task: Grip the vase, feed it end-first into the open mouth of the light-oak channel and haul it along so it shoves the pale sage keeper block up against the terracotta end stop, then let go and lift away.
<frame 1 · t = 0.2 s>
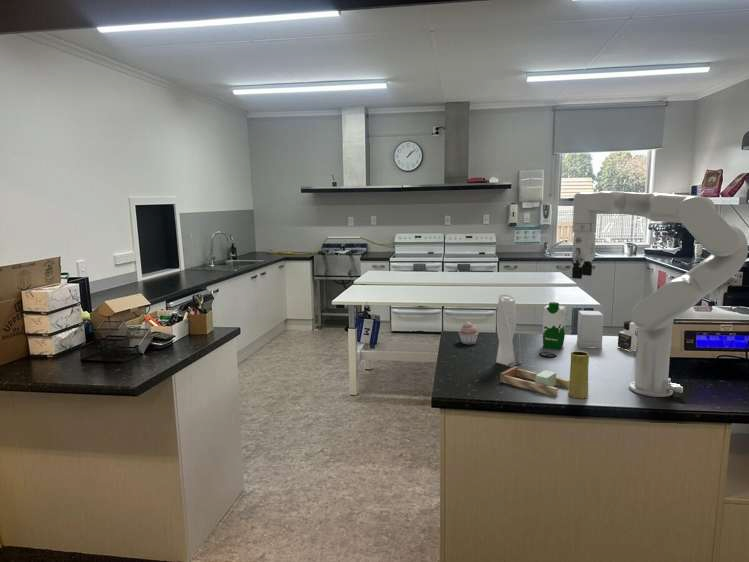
hand: (581, 276, 172), 36 cm above the counter, tool pointing down, fingers open, 9 cm apart
cupcake: (468, 343, 223), on the counter
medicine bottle: (630, 349, 208), on the counter
keeper: (545, 380, 165), point 3 cm above the counter, slide at 0.0 cm
supplement box: (589, 346, 215), on the counter
milk carton: (553, 347, 214), on the counter
vase: (578, 396, 158), on the counter
track: (534, 384, 168), on the counter
skyscraper: (506, 363, 192), on the counter
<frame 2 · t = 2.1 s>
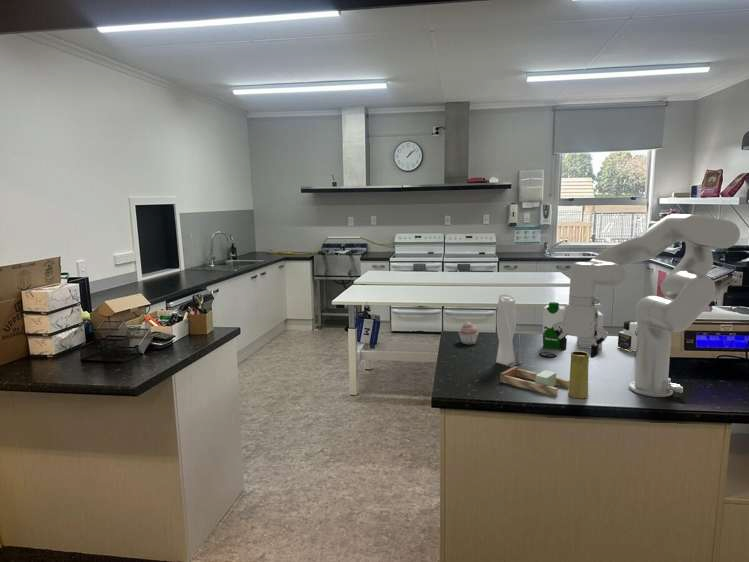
hand: (577, 353, 156), 14 cm above the counter, tool pointing down, fingers open, 9 cm apart
nothing on the counter moved.
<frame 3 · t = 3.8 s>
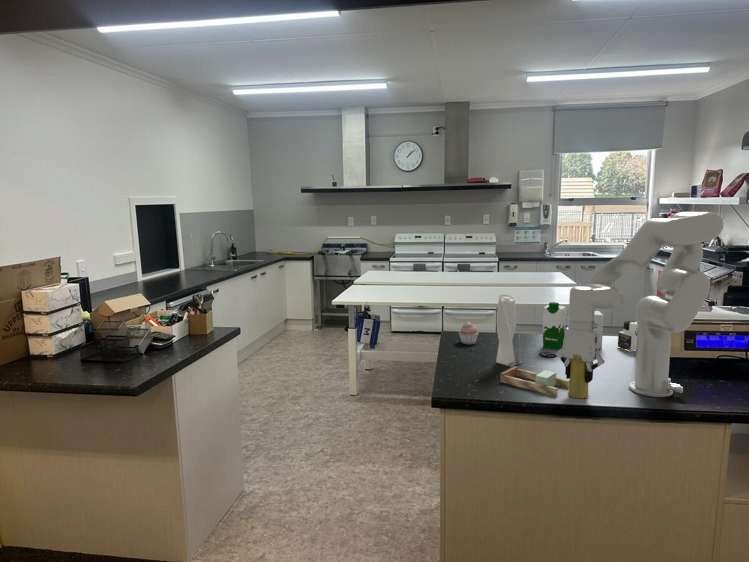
hand: (578, 379, 157), 6 cm above the counter, tool pointing down, fingers closed on vase, 5 cm apart
vase: (578, 396, 158), on the counter, touching gripper
everything else where it was.
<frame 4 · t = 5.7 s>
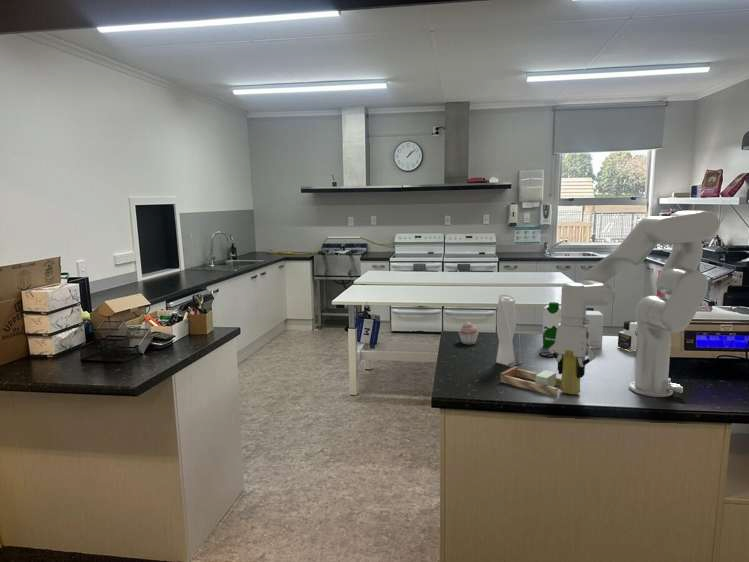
hand: (570, 374, 159), 6 cm above the counter, tool pointing down, fingers closed on vase, 5 cm apart
vase: (570, 391, 160), point 1 cm above the counter, touching gripper
everything else where it was.
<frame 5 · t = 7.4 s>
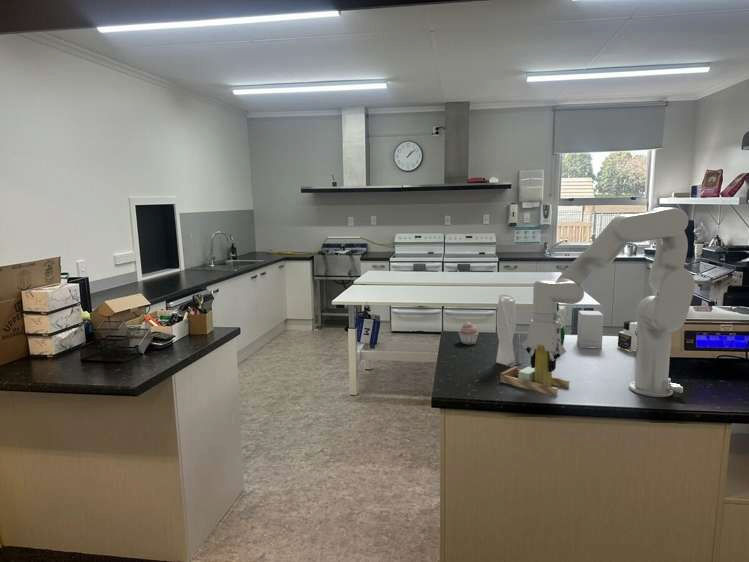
hand: (542, 368, 166), 6 cm above the counter, tool pointing down, fingers closed on vase, 5 cm apart
keeper: (528, 376, 170), point 3 cm above the counter, slide at 6.2 cm, touching vase
vase: (542, 384, 166), point 1 cm above the counter, touching gripper, keeper
everything else where it was.
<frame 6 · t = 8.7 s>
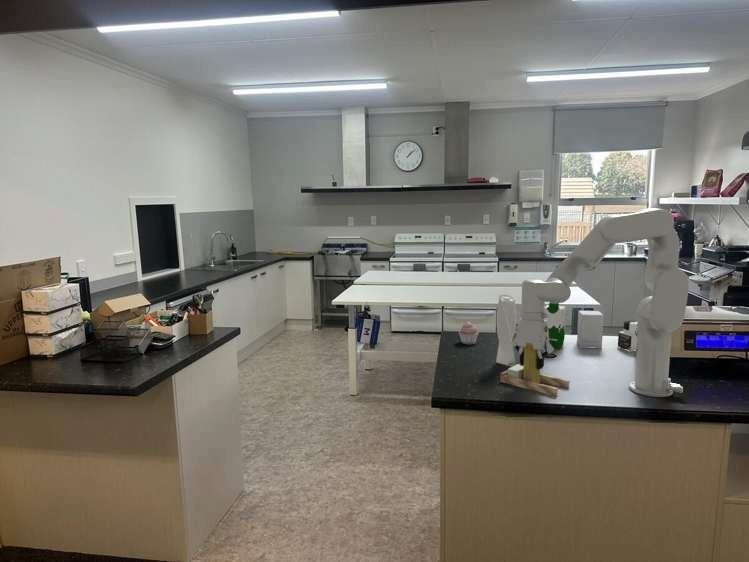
hand: (531, 366, 168), 6 cm above the counter, tool pointing down, fingers closed on vase, 5 cm apart
keeper: (517, 373, 172), point 3 cm above the counter, slide at 10.3 cm
vase: (531, 382, 169), point 1 cm above the counter, touching gripper
everything else where it was.
when the fingers open (6 cm above the counter, at t = 10.2 s): vase stays where it is, resting in track.
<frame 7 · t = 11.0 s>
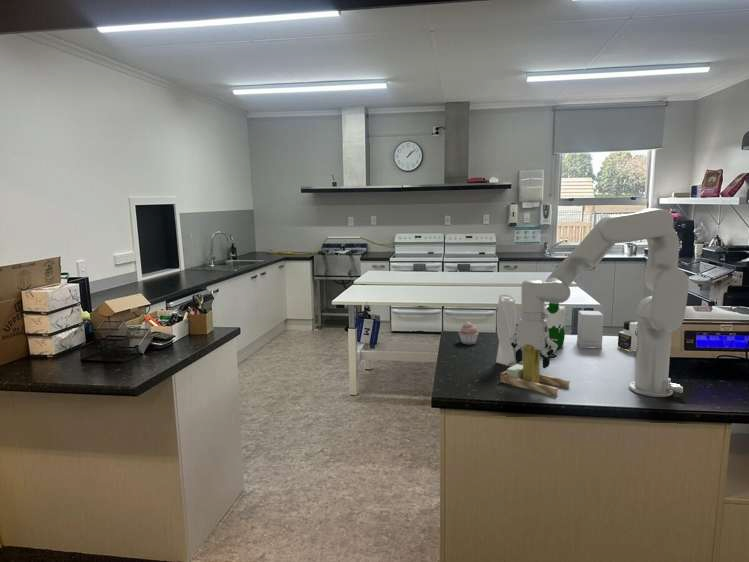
hand: (532, 364, 168), 7 cm above the counter, tool pointing down, fingers open, 9 cm apart
vase: (530, 384, 169), resting in track
everything else where it was.
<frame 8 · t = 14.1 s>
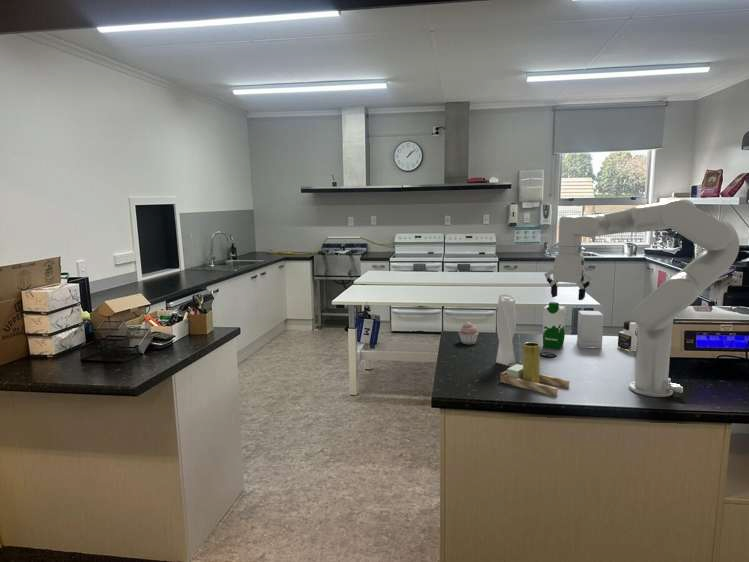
hand: (567, 298, 175), 28 cm above the counter, tool pointing down, fingers open, 9 cm apart
nothing on the counter moved.
at the end: keeper slide at 10.5 cm; vase inside the target area on the track (0.9 cm from its centre), point 0.0 cm above the track's base; vase tilted 0° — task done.
